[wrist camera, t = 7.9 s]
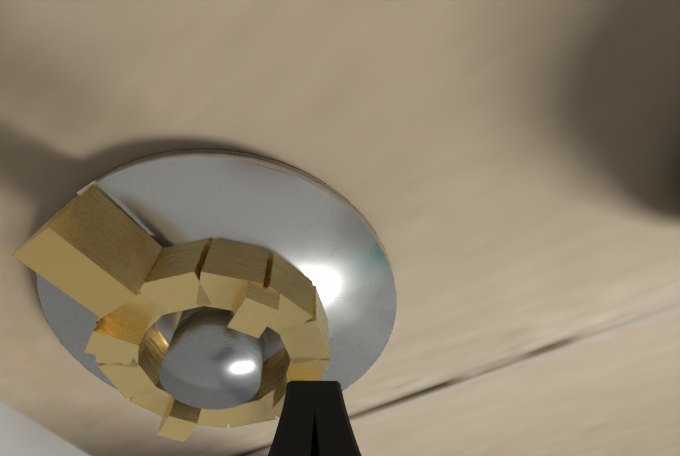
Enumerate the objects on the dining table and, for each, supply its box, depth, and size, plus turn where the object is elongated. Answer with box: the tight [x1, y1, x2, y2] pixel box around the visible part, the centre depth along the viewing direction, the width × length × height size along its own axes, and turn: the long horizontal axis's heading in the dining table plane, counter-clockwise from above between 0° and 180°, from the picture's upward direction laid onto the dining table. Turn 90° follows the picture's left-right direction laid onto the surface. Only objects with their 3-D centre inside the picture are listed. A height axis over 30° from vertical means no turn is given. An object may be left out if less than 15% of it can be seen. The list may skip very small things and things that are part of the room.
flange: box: [36, 149, 396, 410], centre depth 20 cm, size 18×18×5 cm
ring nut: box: [12, 185, 330, 442], centre depth 19 cm, size 10×14×3 cm
